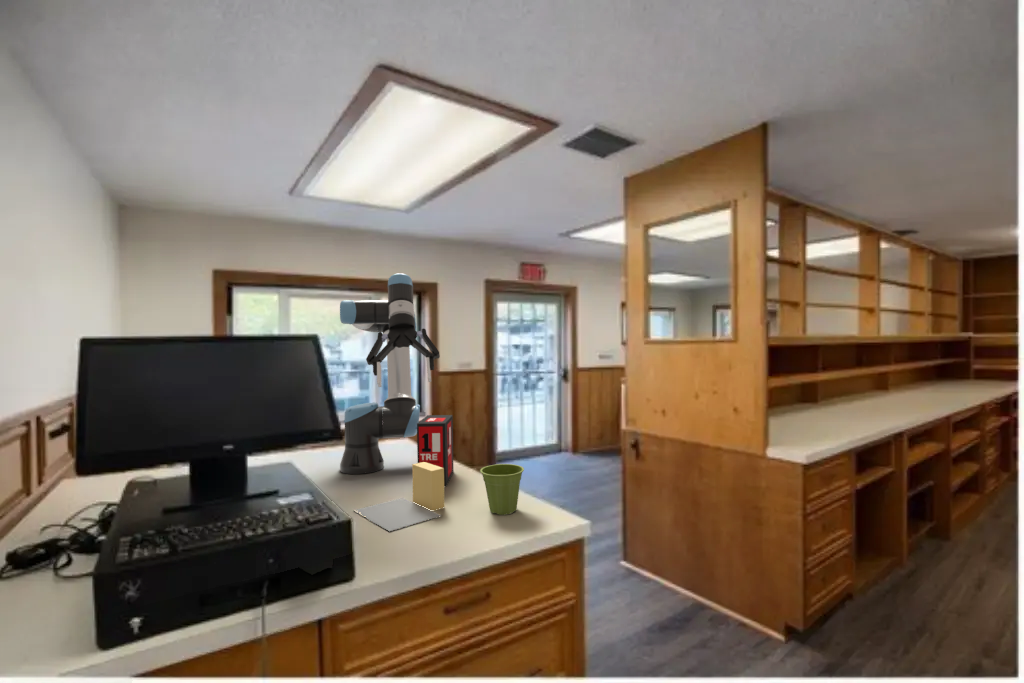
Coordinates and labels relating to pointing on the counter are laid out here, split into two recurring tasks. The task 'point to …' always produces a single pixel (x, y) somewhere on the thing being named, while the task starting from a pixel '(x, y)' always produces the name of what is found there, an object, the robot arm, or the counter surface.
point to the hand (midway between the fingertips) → (404, 382)
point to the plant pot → (502, 487)
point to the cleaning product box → (436, 442)
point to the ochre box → (428, 485)
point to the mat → (397, 514)
